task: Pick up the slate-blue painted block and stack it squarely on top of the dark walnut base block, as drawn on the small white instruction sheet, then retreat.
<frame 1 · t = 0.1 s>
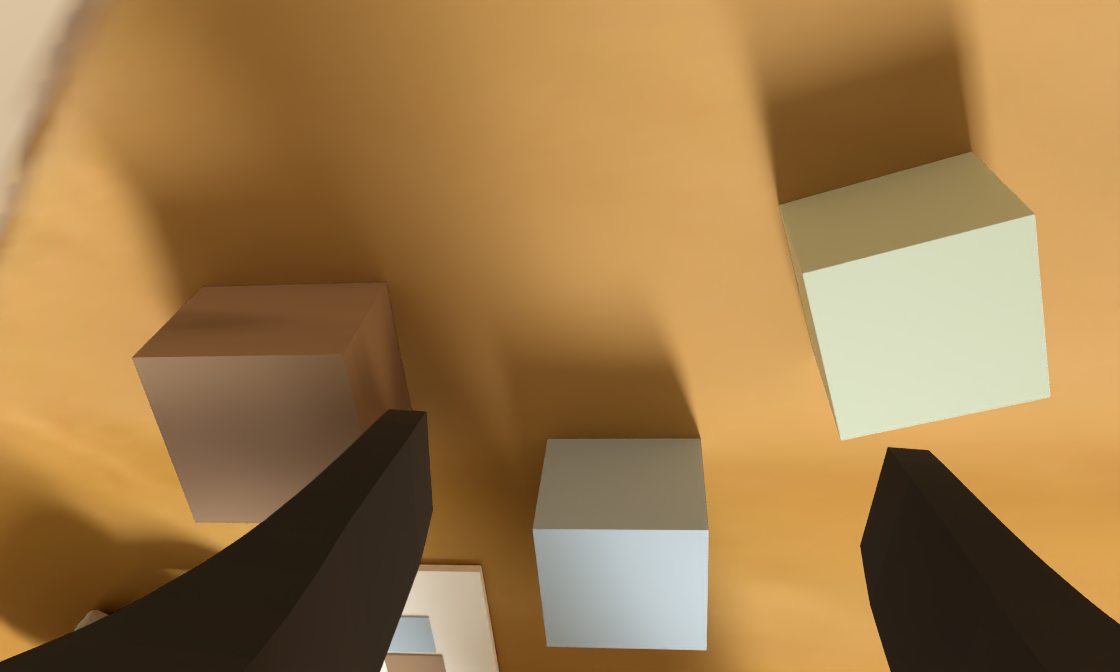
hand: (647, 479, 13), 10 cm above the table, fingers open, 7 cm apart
blue brick: (626, 494, 27), on the table
base brick: (316, 362, 25), on the table
instruction page: (414, 643, 31), on the table
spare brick: (886, 258, 22), on the table
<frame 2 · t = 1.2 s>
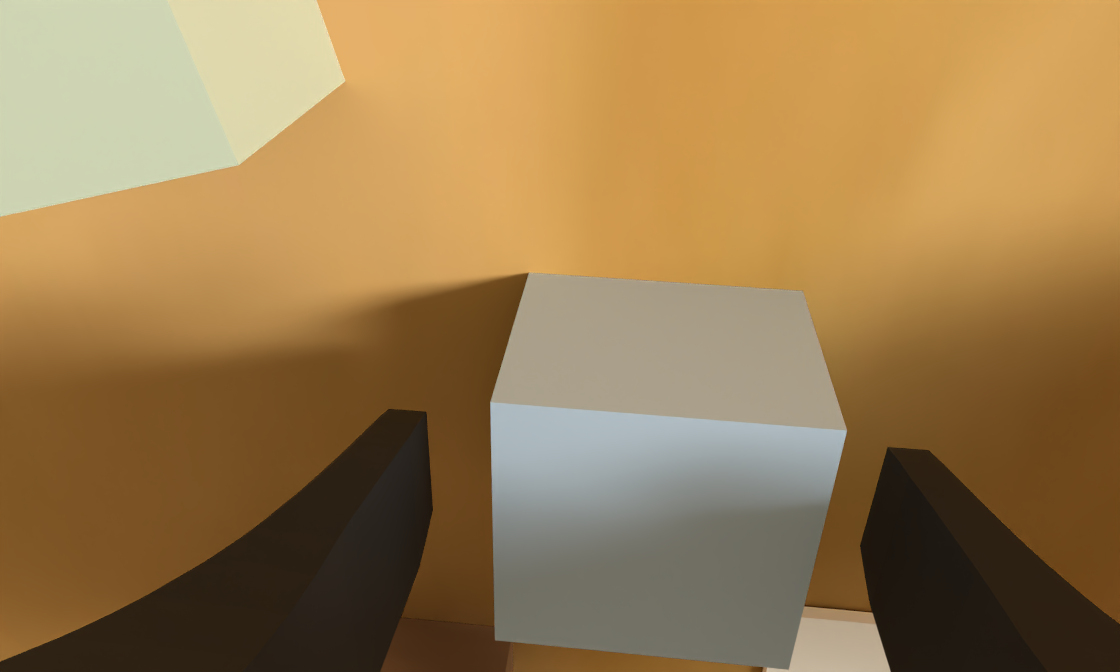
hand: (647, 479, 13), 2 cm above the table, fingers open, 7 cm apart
blue brick: (653, 390, 16), on the table
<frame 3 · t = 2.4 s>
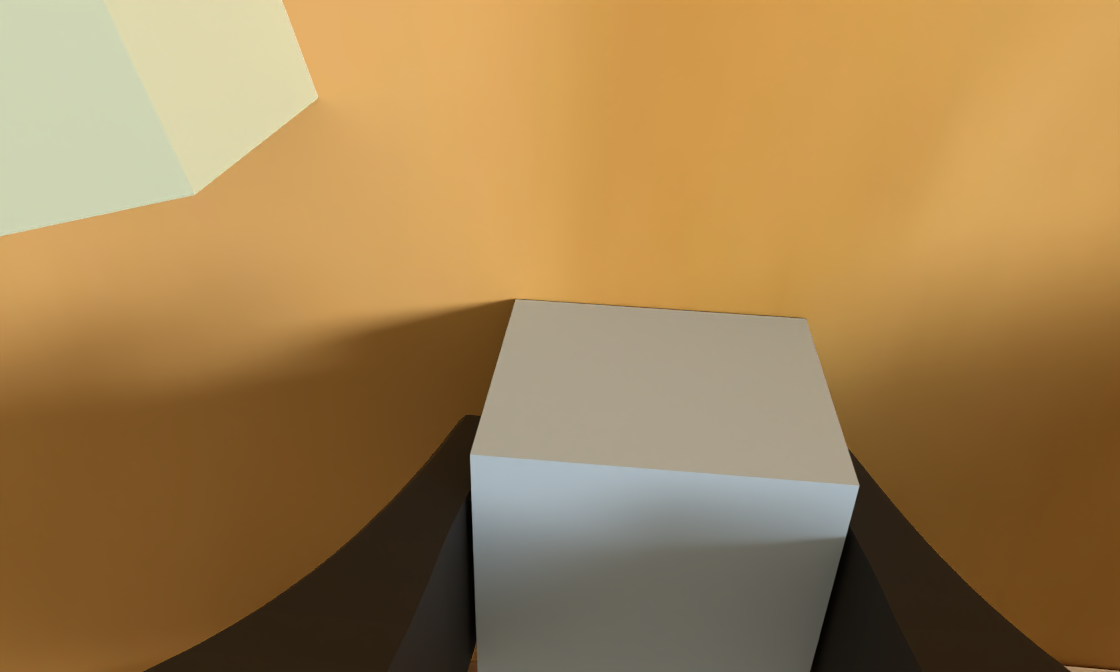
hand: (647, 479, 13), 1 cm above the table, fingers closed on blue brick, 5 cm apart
blue brick: (647, 425, 15), on the table, touching gripper
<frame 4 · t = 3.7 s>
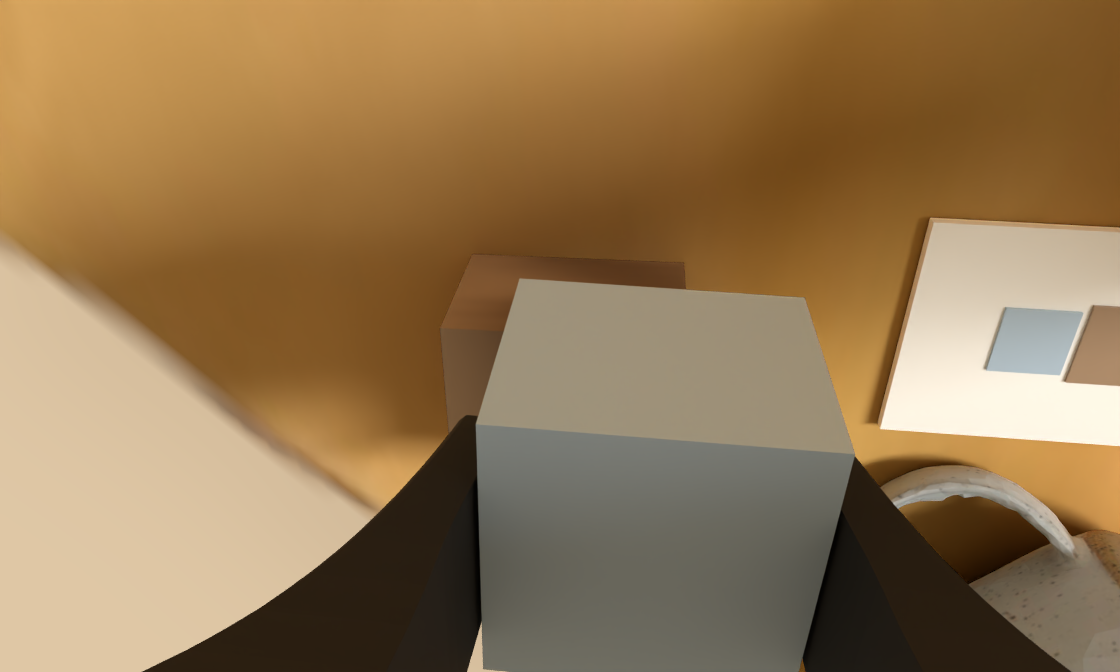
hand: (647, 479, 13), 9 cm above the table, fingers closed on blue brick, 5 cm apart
blue brick: (649, 403, 15), point 7 cm above the table, touching gripper
base brick: (576, 345, 23), on the table
instruction page: (1065, 337, 21), on the table
ceramic mug: (976, 576, 26), on the table
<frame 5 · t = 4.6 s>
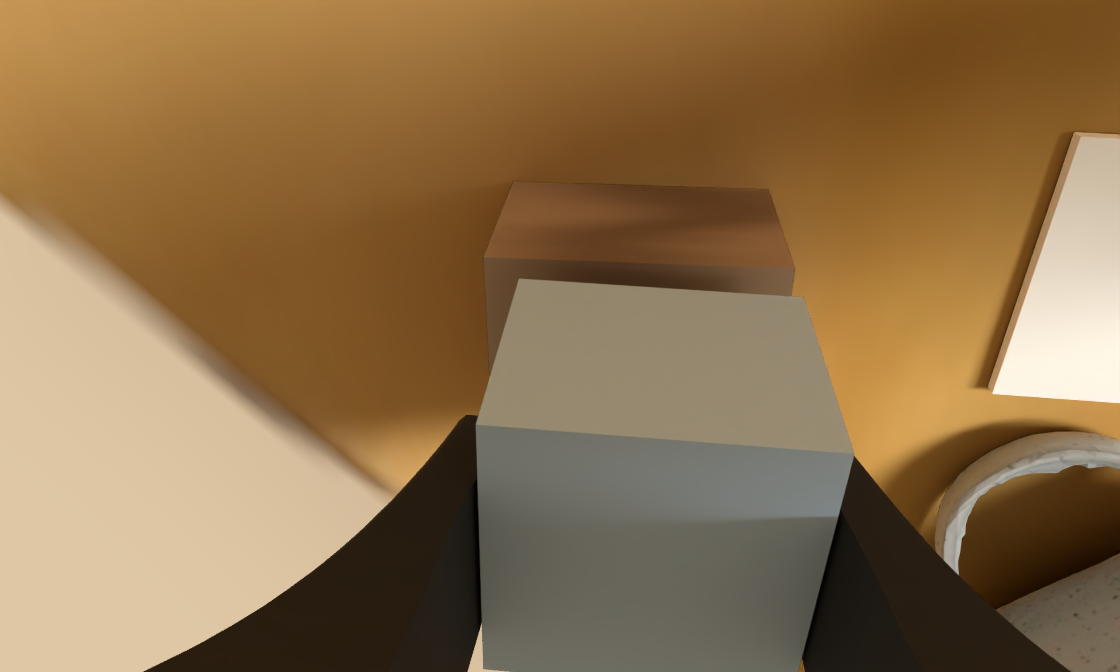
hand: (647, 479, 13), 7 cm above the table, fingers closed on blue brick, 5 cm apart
blue brick: (648, 403, 15), point 5 cm above the table, touching gripper
base brick: (634, 294, 20), on the table
ceramic mug: (1080, 564, 23), on the table
when the fingers open (7 cm above the table, at t = 5.2 s): blue brick drops 1 cm, resting on base brick.
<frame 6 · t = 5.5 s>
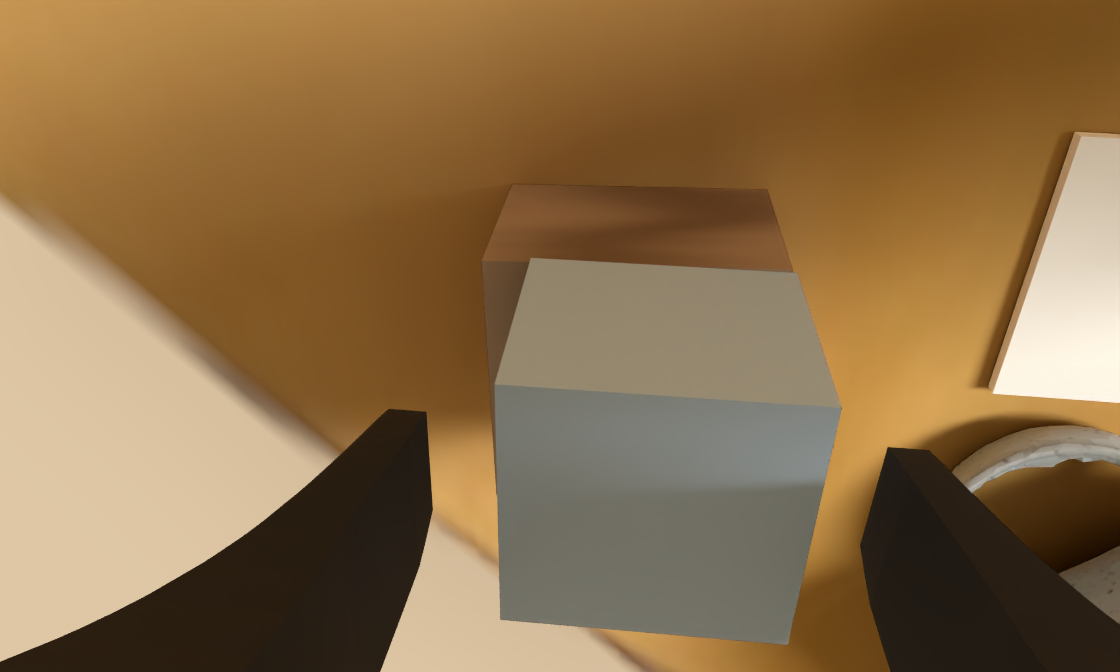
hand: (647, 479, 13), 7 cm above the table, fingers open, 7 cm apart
blue brick: (652, 376, 16), point 4 cm above the table, touching base brick
base brick: (634, 295, 20), on the table, touching blue brick
ceramic mug: (1076, 559, 22), on the table
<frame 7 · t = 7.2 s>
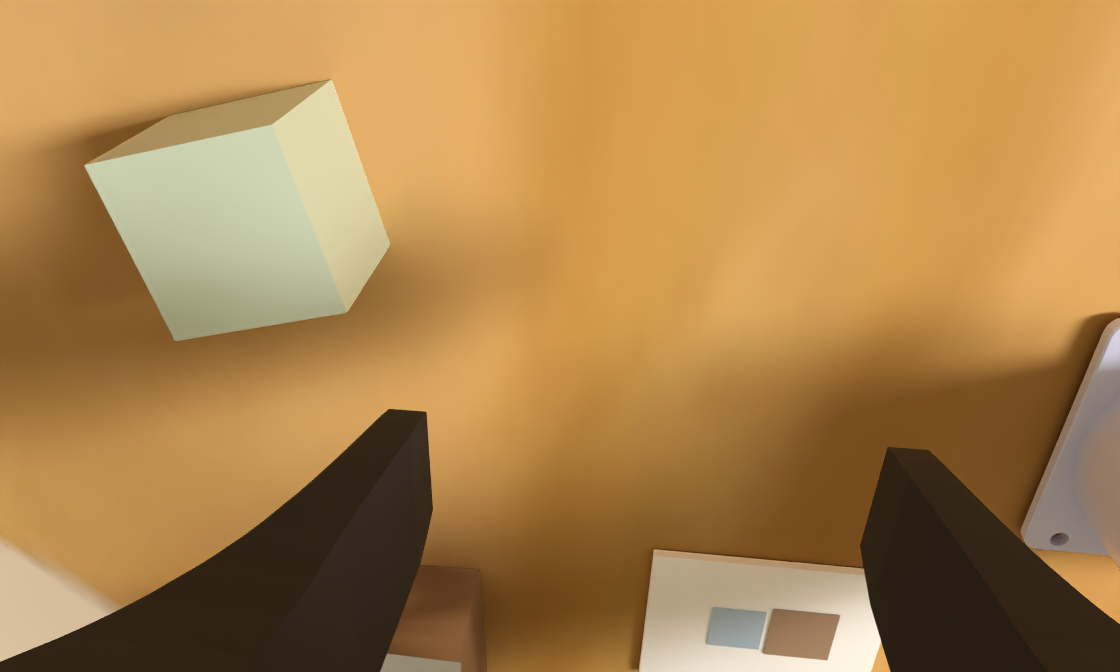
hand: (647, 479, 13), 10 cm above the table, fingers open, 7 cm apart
base brick: (411, 614, 31), on the table
instruction page: (761, 623, 30), on the table
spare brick: (284, 180, 23), on the table
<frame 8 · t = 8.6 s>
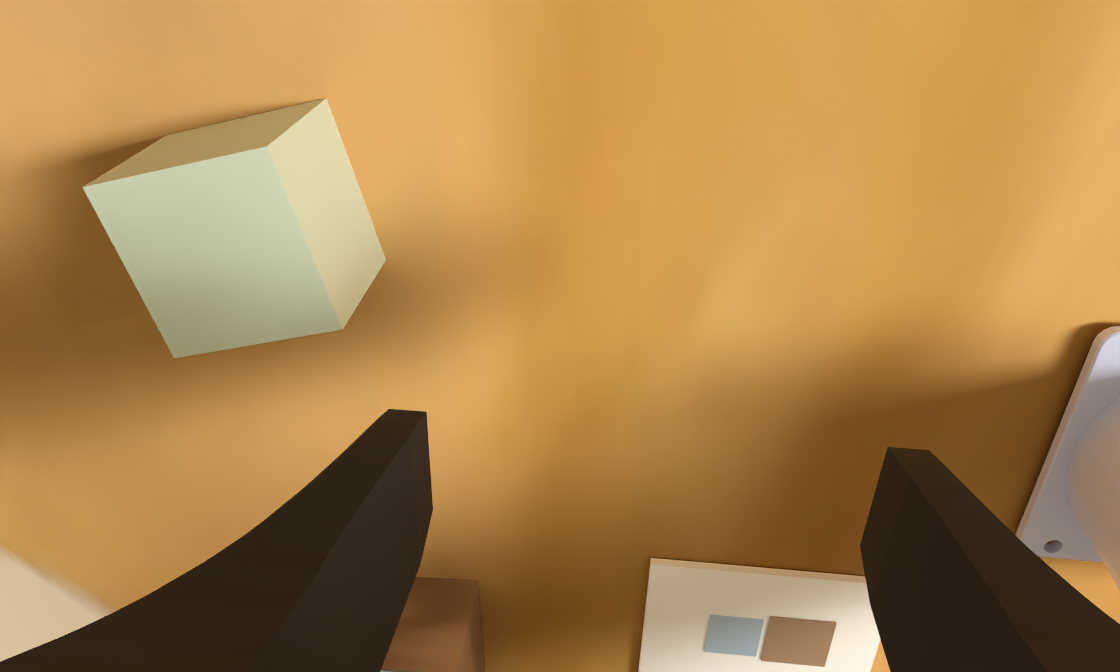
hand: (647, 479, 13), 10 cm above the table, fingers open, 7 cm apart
base brick: (411, 625, 32), on the table, touching blue brick
instruction page: (758, 630, 30), on the table
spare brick: (281, 197, 23), on the table
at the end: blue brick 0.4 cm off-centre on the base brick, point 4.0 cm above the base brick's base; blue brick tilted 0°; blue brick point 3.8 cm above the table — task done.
